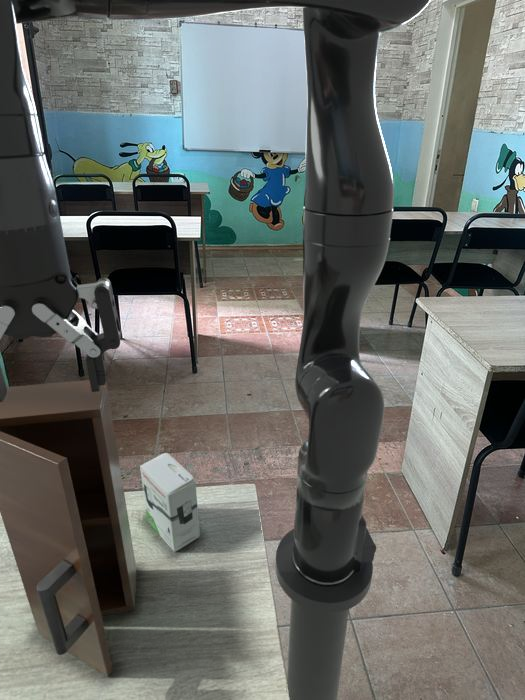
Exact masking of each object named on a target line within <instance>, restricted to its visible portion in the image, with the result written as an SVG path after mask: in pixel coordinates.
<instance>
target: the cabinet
mask: <svg viewBox="0 0 525 700" xmlns="http://www.w3.org/2000/svg"><path fill="white" fill-rule="evenodd" d="M6 387H7V394H6V396H5V398H4V400H3V402H0V431H1V432H4V433H6V434H8V435H11V436H13V437H16V438H18V439H21V440H23V441H26V442H28V443H31V444H33V445H36V446H38V447H40V448H43V449H45V450H48V451H50V452H53V453H55V454H58V455H60V456H63V457H65V458H67V462H68V466H69V471H70V475H71V480H72V484H73V489H74V493H75V498H76V502H77V507H78V512H79V516H80V521H81V525H82V530H83V534H84V539H85V543H86V548H87V552H88V557H89V561H90V566H91V571H92V575H93V580H94V584H95V589H96V593H97V598H98V602H99V607H100V611H101V616H107V615H114V614H119V613H126V612H132V611H135V609H136V608H135V607H136V589H137V587H136V586H137V564H136V557H135V551H134V546H133V545H134V544H133V538H132V532H131V527H130V521H129V515H128V507H127V501H126V496H125V488H124V482H123V477H122V469H121V464H120V463H121V462H120V457H119V451H118V445H117V438H116V433H115V427H114V426H115V425H114V420H113V415H112V408H111V401H110V395H109V389H108V388H109V387H108V382H107V380H106V382H105V385H101V389H100V391H98V392H92V390H91V385H90V380H89V379H86V380H84V379H83V380H74V381H62V382H50V383H49V382H48V383H39V384H30V385H29V384H27V385H17V386H16V385H15V386H6Z"/></svg>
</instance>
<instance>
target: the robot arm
mask: <svg viewBox="0 0 525 700" xmlns="http://www.w3.org/2000/svg"><path fill="white" fill-rule="evenodd" d="M430 2H431V0H0V341H2V340H3V337H4V336H7V337H10V338H13V340H14V341H16V340H26V339H28V338H31V337H37V338H52V337H54V335H55V334H58V335H60V336H61V337H62V338H63V339H64V340H65V341H67V342H68V343H69V344H71V345H72V344H73V345H75V346H76V347H77V348H78V349H80V350H81V351H82V352H83V353H84V354H85V355H86V356H85V362H86V363H85V364H86V368H87V374H88V380H90V385H91V390H92V392H98V391H100V389H101V385H105V382H106V381H107V377H108V369H107V364H106V357H105V353H106V352H107V351H110V350H117V349H118V348H119V347H120V345H121V339H122V328H121V324H120V318H119V315H118V314H119V313H118V310H117V304H116V299H115V295H114V292H113V286H112V282H111V280H110V279H109V278H107V277H101V278H99V279H98V280H97V281H96V282H91V283H83V284H78V283H77V282H76V281H75V280H74V278H73V276H72V273H71V268H70V264H69V258H68V253H67V247H66V242H65V237H64V230H63V226H62V220H61V215H60V210H59V203H58V199H57V193H56V187H55V184H54V180H53V177H52V174H51V171H50V168H49V164H48V162H47V157H46V154H45V148H44V142H43V137H42V131H41V127H40V122H39V117H38V112H37V107H36V103H35V98H34V95H33V92H32V89H31V85H30V82H29V80H28V77H27V74H26V71H25V68H24V65H23V59H22V53H21V46H20V45H21V44H20V39H19V33H18V24H28V23H37V22H45V21H52V20H60V19H66V18H76V19H77V18H78V19H79V18H80V19H89V20H102V21H106V20H109V21H112V20H113V21H114V20H115V21H116V20H117V21H118V20H119V21H120V20H121V21H139V20H140V21H142V20H144V21H145V20H146V21H147V20H148V21H150V20H175V19H183V18H194V17H196V18H197V17H204V16H210V15H219V14H225V13H232V12H240V11H248V10H259V9H272V8H301V10H302V26H303V39H304V58H305V73H306V99H307V100H306V101H307V104H306V106H307V107H306V111H307V112H306V128H305V129H306V130H305V131H306V133H305V170H304V171H305V176H304V177H305V178H304V195H303V212H302V213H303V214H302V215H303V216H302V299H303V300H302V302H303V316H302V328H301V336H300V343H299V351H298V356H297V363H296V371H295V378H294V379H295V380H294V381H295V382H294V384H295V385H294V386H295V393H296V397H297V400H298V403H299V404H300V406H301V408H302V410H303V412H304V414H305V416H306V418H307V419H308V435H307V436H308V437H307V440H305V441H304V442H303V443H302V444H301V446H300V447H299V449H298V450H299V451H298V453H297V454H298V455H297V471H296V491H295V493H296V494H295V510H294V511H295V512H294V520H293V522H294V523H293V529H294V528H295V529H294V544H293V545H294V546H293V556H292V559H293V564H294V567H295V569H296V570H297V572H298V573H299V574H300V575H301V576H302V577H303V578H304V579H305V580H307V581H309V582H311V583H313V584H315V585H319V586H326V587H330V586H337V585H340V584H342V583H344V582H346V581H347V580H348V579H349V578H350V577H351V576H352V575H353V573H355V572H360V567H361V563H364V562H370V561H372V562H374V560H375V553H376V552H377V544H376V543H375V542H374V540H373V537H372V535H371V534H370V532H369V530H368V528H367V521H366V519H365V517H364V516H363V508H364V501H365V492H366V486H367V478H368V473H369V472H368V471H369V470H370V469H371V467H373V464H374V463H375V460H376V457H377V454H378V449H379V444H380V439H381V434H382V429H383V424H384V418H385V397H384V393H383V391H382V389H381V387H380V386H379V385H378V383H377V382H376V381H375V379H374V378H373V377H372V376H371V375H370V374H369V372H368V371H367V370H366V369H365V367H364V366H363V365H362V362H361V358H360V357H361V356H360V334H361V332H360V330H361V320H362V314H363V310H364V307H365V304H366V302H367V300H368V297H369V296H370V294H371V292H372V290H373V288H374V287H375V284H376V283H377V281H378V278H379V277H380V275H381V273H382V270H383V268H384V266H385V263H386V260H387V257H388V253H389V247H390V242H391V234H392V224H393V217H394V216H393V215H394V207H395V183H394V177H393V171H392V166H391V163H390V158H389V155H388V152H387V148H386V144H385V140H384V136H383V134H382V129H381V125H380V122H379V118H378V114H377V106H376V94H375V93H376V88H375V87H376V70H377V61H378V60H377V59H378V49H379V41H380V38H381V37H380V35H381V33H385V32H389V31H393V30H394V29H396V28H399V27H401V26H404V25H405V24H406V23H408V22H410V21H411V20H412V19H414V18H415V17H417V16H418V15H420V14H421V12H422V11H424V10H425V8H426V7H428V5H429V3H430ZM79 299H82V300H84V301H86V302H87V304H88V306H89V307H90V308H91V309H95V310H97V311H98V315H99V320H100V323H101V328H102V332H101V333H98V332H96V331H95V330H94V329H93V328H92V327H91V326H90V325H89V324H88V323H87V321H86V319H85V318H84V317H83V316H81V315H80V313H78V311H76V310H74V309H75V307H76V305H77V304H78V302H79ZM7 387H8V386H7V384H6V380H5V377H4V373H3V370H2V365H0V402H3V400H4V398H5V396H6V394H7Z"/></svg>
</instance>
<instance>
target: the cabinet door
mask: <svg viewBox="0 0 525 700" xmlns="http://www.w3.org/2000/svg"><path fill="white" fill-rule="evenodd" d="M0 516H1V520H2V522H3V526H4V529H5V532H6V535H7V537H8V541H9V544H10V548H11V551H12V554H13V558H14V560H15V563H16V568H17V570H18V574H19V576H20V579H21V582H22V585H23V589H24V592H25V595H26V598H27V602H28V605H29V607H30V608H29V609H30V611H31V614H32V616H33V620H34V623H35V626H36V630H37V632H38V635H39V636H41V637H43V638H45V639H46V640H48V641H49V642H51V643H52V645H53V648H54V652H55V654H56V655H58V656H62V655H65V654H66V653H69V654H70V655H71V656H73V657H74V658H77V659H78V660H79V661H81V662H83V663H85V664H86V665H88V666H89V667H91V668H92V669H94V670H96V671H98V672H99V673H100V674H102V675H104V676H105V677H107V678H109V676H110V675H111V674H112V672H113V670H114V666H113V661H112V658H111V653H110V648H109V644H108V639H107V634H106V630H105V626H104V620H103V617H102V616H101V611H100V607H99V602H98V598H97V593H96V589H95V584H94V580H93V575H92V571H91V566H90V561H89V557H88V552H87V548H86V543H85V539H84V534H83V530H82V525H81V521H80V516H79V512H78V507H77V502H76V498H75V493H74V489H73V484H72V480H71V475H70V471H69V466H68V462H67V458H65V457H63V456H60V455H58V454H55V453H53V452H50V451H48V450H45V449H43V448H40V447H38V446H36V445H33V444H31V443H28V442H26V441H23V440H21V439H18V438H16V437H13V436H11V435H8V434H6V433H4V432H1V431H0Z"/></svg>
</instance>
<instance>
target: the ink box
mask: <svg viewBox="0 0 525 700" xmlns="http://www.w3.org/2000/svg"><path fill="white" fill-rule="evenodd" d="M139 469H140V476H141V484H142V490H143V491H142V492H143V500H144V507H145V514H146V515H145V516H146V521H147V523H148V524H149V525H150V526H151V527H152V529H153V530H154V531H155V532H156V533H157V534H158V535H159V536H160V537H161V539H162V540H163V541H164V542H165V543H166V544H167V545H168V547H169V548H170V549H171V550H172V551H173V552H174V553H176V552H178V551H179V550H181V549H182V548H184V547H187V545H189V544H190V543H192V542H194V541H195V540H197V539H198V538H200V535H201V534H200V524H199V523H200V522H199V521H200V520H199V510H198V495H197V482H196V479H195V478H194V475H192V474H191V473H190V472H189V471H188V470H187V469H186V468H184V467H183V466H182V465H181V464H180V463H179V462H178V461H177V460H176V458H174V457H173V456H171V455H170V454H169V453H168V452H164V453H161V454H160V455H158V456H156V457H154V458H152V459H150V460H149V461H146V462H144V463H141V464H140V465H139Z"/></svg>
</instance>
